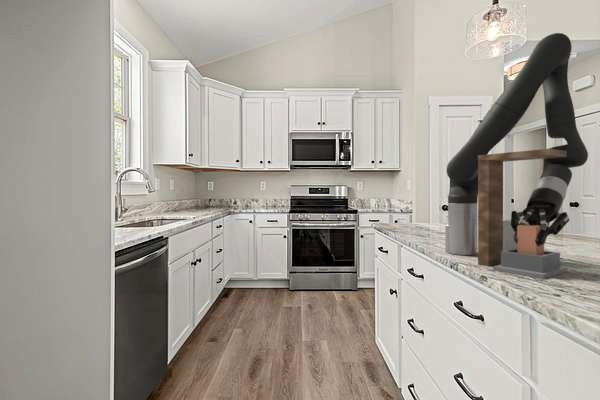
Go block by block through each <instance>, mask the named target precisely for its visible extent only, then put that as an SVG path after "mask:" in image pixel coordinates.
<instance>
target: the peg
mask: <svg viewBox="0 0 600 400" xmlns="http://www.w3.org/2000/svg"><path fill="white" fill-rule="evenodd" d="M540 230H541V226H539V225H519V226H517V238H518V241H517V253H523V254H530V255H538V256H541V255H544V251H545V243H544V244H542V245H541V246H537V244H536V243H535V240H536V238H537V236H538V233H539V231H540Z"/></svg>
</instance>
